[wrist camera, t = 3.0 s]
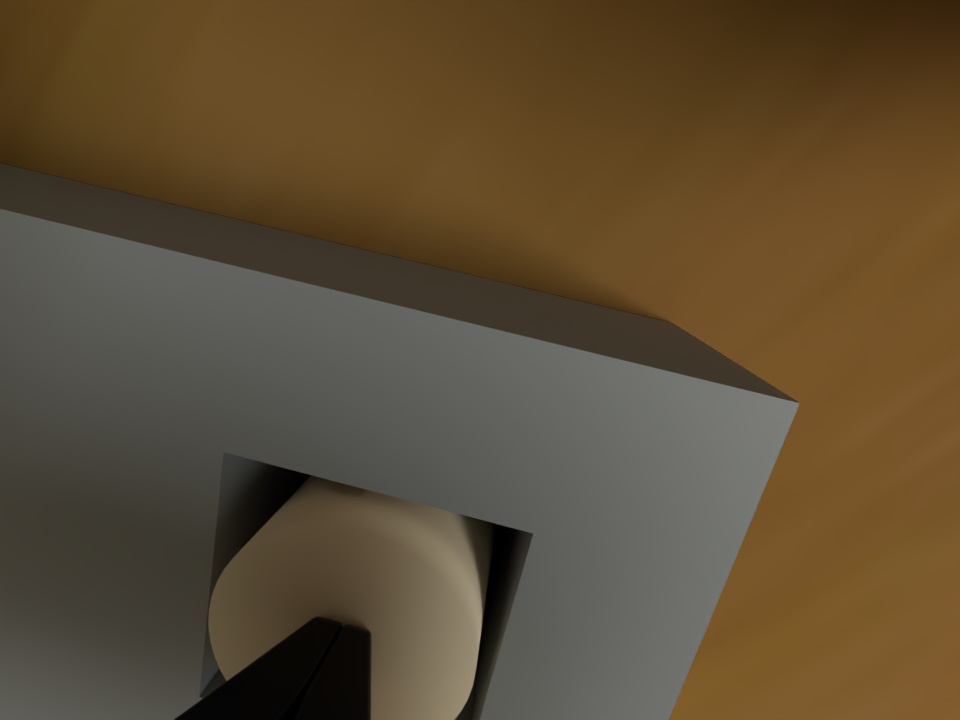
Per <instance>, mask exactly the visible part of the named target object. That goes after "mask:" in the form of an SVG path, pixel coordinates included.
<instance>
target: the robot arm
mask: <svg viewBox="0 0 960 720" xmlns="http://www.w3.org/2000/svg"><path fill="white" fill-rule="evenodd" d="M371 642H372V638H371V632H370V631H369V630H368V629H364V628H361V627H357V626H354V625H350V624H347V625H345V626H343V625H342V624H341V622H339V621H336V620H332V619H328V618H325V617H321V616H317V617H314V618H312V619H311V620H309V621H308V622H307V623H305V624H304V625H303V626H301V627H300V628H298V629H297V630H296V631H294V632H293V633H292V634H290V635H289V636H288V637H286V638H285V639H283V640H282V641H281V642H279V643H278V644H277V645H275V646H274V647H273V648H271V649H270V650H268V651H267V652H266V653H264V654H263V655H262V656H260V657H259V658H257V659H256V660H255V661H253V662H252V663H251V664H249V665H248V666H247V667H245V668H244V669H242V670H241V671H240V672H238V673H237V674H236V675H234V676H233V677H231V678H230V679H229V680H227V681H226V682H225V683H223V684H222V685H221V686H219V687H218V688H216V689H215V690H214V691H212V692H211V693H210V694H208V695H207V696H205V697H204V698H203V699H201V700H200V701H199V702H197V703H196V704H195V705H193V706H192V707H190V708H189V709H188V710H186V711H185V712H184V713H182V714H181V715H179V716H178V717H177V718H175V719H174V720H371Z"/></svg>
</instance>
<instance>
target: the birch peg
mask: <svg viewBox="0 0 960 720" xmlns="http://www.w3.org/2000/svg"><path fill="white" fill-rule="evenodd" d="M495 530H496V524H495V523H491V522H488V521H484V520H480V519H476V518H472V517H469V516H465V515H461V514H457V513H453V512H450V511H446V510H442V509H438V508H434V507H431V506H427V505H423V504H419V503H415V502H412V501H408V500H404V499H400V498H396V497H393V496H389V495H385V494H381V493H377V492H374V491H370V490H366V489H362V488H358V487H355V486H351V485H347V484H343V483H339V482H336V481H332V480H328V479H324V478H320V477H317V476H313V475H311V476H310V477H309V478H308V479H307V480H306V481H305V482H304V484H303V485H302V486H301V487H300V488H299V489H298V490H297V491H296V492H295V493H294V494H293V495H292V496H291V497H290V498H289V499H288V500H287V501H286V503H285V504H284V505H283V506H282V507H281V508H280V509H279V510H278V511H277V512H276V513H275V514H274V515H273V516H272V517H271V518H270V519H269V521H268V522H267V523H266V524H265V525H264V526H263V527H262V528H261V529H260V530H259V531H258V532H257V533H256V534H255V535H254V536H253V537H252V538H251V540H250V541H249V542H248V543H247V544H246V545H245V546H244V547H243V548H242V549H241V550H240V551H239V552H238V553H237V554H236V555H235V556H234V558H233V559H232V560H231V561H230V562H229V564H228V565H227V566H226V567H225V569H224V570H223V572H222V574H221V575H220V577H219V579H218V581H217V583H216V585H215V588H214V591H213V594H212V597H211V602H210V607H209V622H208V627H209V635H210V642H211V646H212V649H213V653H214V656H215V659H216V661H217V664H218V666H219V668H220V671H221V672H222V674H223V676H224V678H225V679H226V681H227V680H229V679H230V678H231V677H233V676H234V675H236V674H237V673H238V672H240V671H241V670H242V669H244V668H245V667H247V666H248V665H249V664H251V663H252V662H253V661H255V660H256V659H257V658H259V657H260V656H262V655H263V654H264V653H266V652H267V651H268V650H270V649H271V648H273V647H274V646H275V645H277V644H278V643H279V642H281V641H282V640H283V639H285V638H286V637H288V636H289V635H290V634H292V633H293V632H294V631H296V630H297V629H298V628H300V627H301V626H303V625H304V624H305V623H307V622H308V621H309V620H311V619H312V618H314V617H317V616H321V617H325V618H328V619H332V620H336V621H339V622H341V624H342V625H343V626H345V625H347V624H350V625H354V626H357V627H361V628H364V629H368V630H369V631H370V632H371V638H372V642H371V720H455V718H456V717H457V716H458V715H459V713H460V712H461V711H462V709H463V707H464V705H465V704H466V702H467V700H468V698H469V695H470V692H471V690H472V687H473V683H474V678H475V672H476V666H477V659H478V652H479V644H480V637H481V630H482V623H483V616H484V609H485V602H486V594H487V587H488V580H489V573H490V566H491V559H492V552H493V544H494V537H495Z"/></svg>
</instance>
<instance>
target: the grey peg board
mask: <svg viewBox="0 0 960 720" xmlns="http://www.w3.org/2000/svg"><path fill="white" fill-rule="evenodd" d="M799 404H800V403H799V402H797V401H795V400H794V399H792V398H791V397H789V396H788V395H786V394H784V393H783V392H781V391H780V390H778V389H776V388H775V387H773V386H772V385H770V384H769V383H767V382H765V381H764V380H762V379H761V378H759V377H757V376H756V375H754V374H753V373H751V372H750V371H748V370H746V369H745V368H743V367H742V366H740V365H738V364H737V363H735V362H734V361H732V360H730V359H729V358H727V357H726V356H724V355H723V354H721V353H719V352H718V351H716V350H715V349H713V348H711V347H710V346H708V345H707V344H705V343H704V342H702V341H700V340H699V339H697V338H696V337H694V336H692V335H691V334H689V333H688V332H686V331H685V330H683V329H681V328H680V327H678V326H677V325H675V324H673V323H670V322H666V321H662V320H658V319H653V318H649V317H645V316H641V315H637V314H632V313H628V312H624V311H620V310H616V309H611V308H607V307H603V306H599V305H595V304H590V303H586V302H582V301H578V300H574V299H569V298H565V297H561V296H557V295H553V294H548V293H544V292H540V291H536V290H532V289H527V288H523V287H519V286H515V285H511V284H506V283H502V282H498V281H494V280H490V279H485V278H481V277H477V276H473V275H469V274H464V273H460V272H456V271H452V270H448V269H443V268H439V267H435V266H431V265H427V264H422V263H418V262H414V261H410V260H406V259H401V258H397V257H393V256H389V255H385V254H380V253H376V252H372V251H368V250H364V249H359V248H355V247H351V246H347V245H343V244H338V243H334V242H330V241H326V240H322V239H317V238H313V237H309V236H305V235H301V234H296V233H292V232H288V231H284V230H280V229H275V228H271V227H267V226H263V225H259V224H254V223H250V222H246V221H242V220H238V219H233V218H229V217H225V216H221V215H217V214H212V213H208V212H204V211H200V210H196V209H191V208H187V207H183V206H179V205H175V204H170V203H166V202H162V201H158V200H154V199H149V198H145V197H141V196H137V195H133V194H128V193H124V192H120V191H116V190H112V189H107V188H103V187H99V186H95V185H91V184H86V183H82V182H78V181H74V180H70V179H65V178H61V177H57V176H53V175H49V174H44V173H40V172H36V171H32V170H28V169H23V168H19V167H15V166H11V165H7V164H2V163H0V720H174V719H175V718H177V717H178V716H179V715H181V714H182V713H184V712H185V711H186V710H188V709H189V708H190V707H192V706H193V705H195V704H196V703H197V702H199V701H200V700H201V699H203V698H204V697H205V696H207V695H208V694H210V693H211V692H212V691H214V690H215V689H216V688H218V687H219V686H221V685H222V684H223V683H225V682H226V679H225V678H224V676H223V674H222V672H221V671H220V668H219V666H218V664H217V661H216V659H215V656H214V653H213V649H212V646H211V642H210V635H209V627H208V622H209V607H210V602H211V597H212V594H213V591H214V588H215V585H216V583H217V581H218V579H219V577H220V575H221V574H222V572H223V570H224V569H225V567H226V566H227V565H228V564H229V562H230V561H231V560H232V559H233V558H234V556H235V555H236V554H237V553H238V552H239V551H240V550H241V549H242V548H243V547H244V546H245V545H246V544H247V543H248V542H249V541H250V540H251V538H252V537H253V536H254V535H255V534H256V533H257V532H258V531H259V530H260V529H261V528H262V527H263V526H264V525H265V524H266V523H267V522H268V521H269V519H270V518H271V517H272V516H273V515H274V514H275V513H276V512H277V511H278V510H279V509H280V508H281V507H282V506H283V505H284V504H285V503H286V501H287V500H288V499H289V498H290V497H291V496H292V495H293V494H294V493H295V492H296V491H297V490H298V489H299V488H300V487H301V486H302V485H303V484H304V482H305V481H306V480H307V479H308V478H309V477H310V476H311V475H313V476H317V477H320V478H324V479H328V480H332V481H336V482H339V483H343V484H347V485H351V486H355V487H358V488H362V489H366V490H370V491H374V492H377V493H381V494H385V495H389V496H393V497H396V498H400V499H404V500H408V501H412V502H415V503H419V504H423V505H427V506H431V507H434V508H438V509H442V510H446V511H450V512H453V513H457V514H461V515H465V516H469V517H472V518H476V519H480V520H484V521H488V522H491V523H495V524H499V525H501V528H500V532H499V535H498V539H497V543H496V547H495V550H494V552H492V559H491V566H490V573H489V580H488V587H487V594H486V602H485V609H484V616H483V623H482V630H481V637H480V644H479V652H478V659H477V666H476V672H475V678H474V683H473V687H472V690H471V692H470V695H469V698H468V700H467V702H466V704H465V705H464V707H463V709H462V711H461V712H460V713H459V715H458V716H457V717H456V718H455V720H669V718H670V715H671V713H672V711H673V708H674V706H675V703H676V701H677V699H678V696H679V694H680V691H681V689H682V686H683V684H684V682H685V679H686V677H687V674H688V672H689V670H690V667H691V665H692V662H693V660H694V657H695V655H696V653H697V650H698V648H699V645H700V643H701V641H702V638H703V636H704V633H705V631H706V629H707V626H708V624H709V621H710V619H711V616H712V614H713V612H714V609H715V607H716V604H717V602H718V600H719V597H720V595H721V592H722V590H723V587H724V585H725V583H726V580H727V578H728V575H729V573H730V571H731V568H732V566H733V563H734V561H735V558H736V556H737V554H738V551H739V549H740V546H741V544H742V542H743V539H744V537H745V534H746V532H747V529H748V527H749V525H750V522H751V520H752V517H753V515H754V513H755V510H756V508H757V505H758V503H759V501H760V498H761V496H762V493H763V491H764V488H765V486H766V484H767V481H768V479H769V476H770V474H771V472H772V469H773V467H774V464H775V462H776V459H777V457H778V455H779V452H780V450H781V447H782V445H783V443H784V440H785V438H786V435H787V433H788V430H789V428H790V426H791V423H792V421H793V418H794V416H795V414H796V411H797V409H798V406H799Z"/></svg>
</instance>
